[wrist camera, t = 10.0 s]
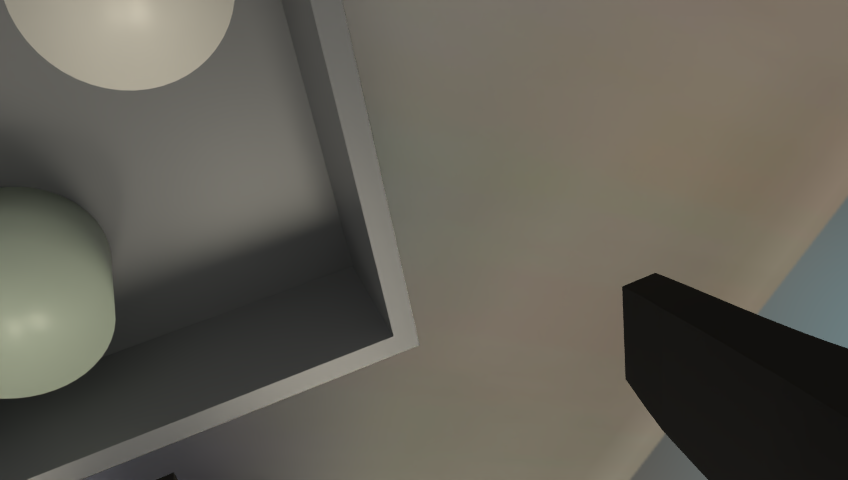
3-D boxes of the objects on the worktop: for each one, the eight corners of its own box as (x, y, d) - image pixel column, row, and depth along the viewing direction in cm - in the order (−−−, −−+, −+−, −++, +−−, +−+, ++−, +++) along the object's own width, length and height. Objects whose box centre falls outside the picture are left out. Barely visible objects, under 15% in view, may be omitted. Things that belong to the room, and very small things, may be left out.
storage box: (371, 266, 23) (419, 345, 19) (-54, 422, 20) (-79, 543, 17) (227, -303, 15) (268, -328, 12) (-499, -170, 12) (-703, -158, 9)
